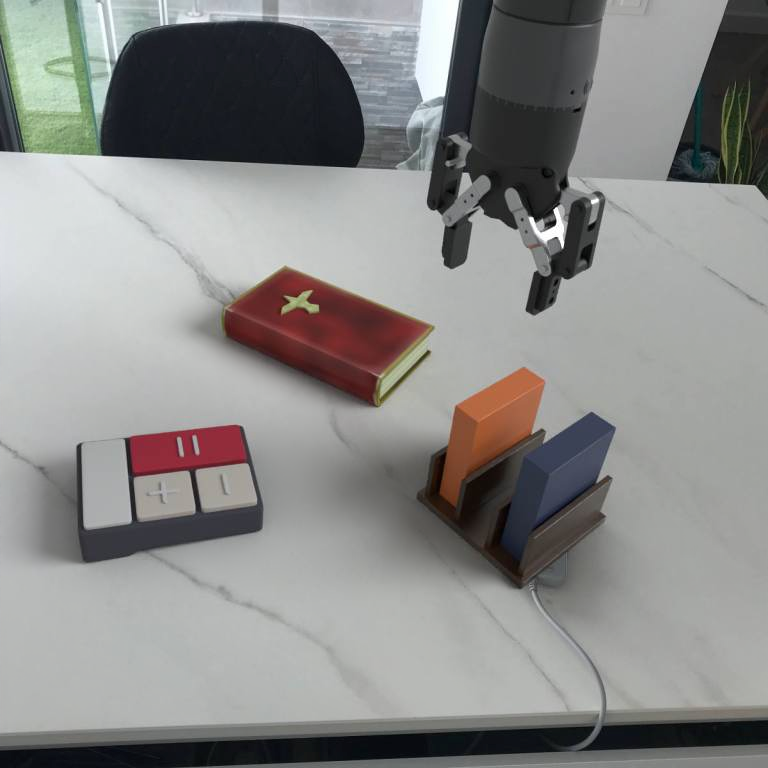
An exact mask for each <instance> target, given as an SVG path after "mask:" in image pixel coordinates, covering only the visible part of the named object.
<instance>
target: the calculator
mask: <svg viewBox="0 0 768 768" xmlns="http://www.w3.org/2000/svg"><path fill="white" fill-rule="evenodd" d="M75 453H76V455H75V456H76V457H75V458H76V459H75V460H76V500H77V501H76V504H77V505H76V506H77V507H76V509H77V535H78V540H79V546H80V552H81V557H82V560H83V562H85V563H93V562H99V561H105V560H111V559H118V558H124V557H125V558H126V557H130V556H132V555H134V554H135V553H137V552H139V551H141V550H145V549H154V548H159V547H165V546H171V545H178V544H185V543H192V542H197V541H204V540H211V539H216V538H224V537H230V536H237V535H243V534H248V533H255V532H260V531H262V529H263V526H264V503H263V502H264V501H263V497H262V494H261V490H260V486H259V482H258V479H257V476H256V472H255V471H256V470H255V467H254V463H253V460H252V455H251V452H250V447H249V444H248V439H247V435H246V432H245V429H244V426H242V425H240V424H239V425H238V424H227V425H217V426H211V427H210V426H209V427H202V428H201V427H200V428H191V429H182V430H175V431H174V430H172V431H164V432H163V431H162V432H156V433H145V434H136V435H132V436H131V435H130V437H129V436H128V437H121V438H120V437H119V438H112V439H103V440H93V441H84V442H79V443H77V445H76V450H75Z"/></svg>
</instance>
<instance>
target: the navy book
mask: <svg viewBox="0 0 768 768" xmlns="http://www.w3.org/2000/svg"><path fill="white" fill-rule="evenodd" d="M616 430H617V426H614V425H613V424H611V423H610V422H608V421H607V420H605V419H604V418H602V417H601V416H600V415H598V414H597V413H595V412H593V411H590V412H589V413H587V414H586V415H584V416H583V417H581V418H580V419H578V420H576V421H575V422H574V423H572V424H570V425H569V426H567V427H566V428H564V429H563V430H561V431H560V432H558V433H557V434H555V435H554V436H552V437H551V438H550V439H548V440H547V441H545V442H543V444H542V445H541V446H539V447H538V448H536V449H535V450H533V451H532V452H530V453H529V454H527V455H526V456H524V458H523V462H522V465H521V469H520V473H519V477H518V480H517V484H516V488H515V491H514V495H513V499H512V502H511V506H510V510H509V513H508V517H507V521H506V524H505V528H504V532H503V535H502V539H501V543H500V545H501V546H502V547H503V548H504V549H505V550H507V551H508V552H509V553H510V554H511V555H512V556H514V557H515V558H516V559H517V560H518V561H520V562H521V559H522V556H523V552H524V549H525V546H526V542H527V539H528V536H529V534H530V533H532V532H533V531H534V530H536V529H537V528H538V527H540V526H541V525H542V524H544V523H545V522H546V521H547V520H549V519H550V518H551V517H553V516H554V515H555V514H557V513H558V512H559V511H561V510H562V509H563V508H565V507H566V506H567V505H569V504H570V503H571V502H573V501H574V500H575V499H577V498H578V497H579V496H581V495H582V494H583V493H584V492H586V491H587V490H588V489H590V488H591V487H592V486H594V485H595V484H596V483H598V479H599V476H600V475H601V471H602V469H603V466H604V463H605V460H606V457H607V455H608V452H609V449H610V446H611V444H612V441H613V438H614V436H615V433H616Z"/></svg>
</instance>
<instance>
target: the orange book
mask: <svg viewBox="0 0 768 768" xmlns="http://www.w3.org/2000/svg"><path fill="white" fill-rule="evenodd" d="M546 382H547V381H546V380H545V379H543V378H542V377H541V376H539V375H537V374H536V373H534V372H533V371H531V370H530V369H529V368H527V367H525V366H522V367H520V368H518V369H517V370H515V371H513V372H512V373H510V374H509V375H507V376H505V377H503V378H501V379H500V380H498V381H496V382H494V383H492V384H491V385H489V386H487V387H486V388H484V389H482V390H480V391H478V392H477V393H475V394H473V395H471V396H470V397H468V398H466V399H464V400H462V401H461V402H459V403H457V404H455V406H454V411H453V417H452V422H451V426H450V427H451V428H450V432H449V437H448V444H447V445H448V449H447V454H446V460H445V465H444V471H443V476H442V482H441V487H440V493H439V494H440V495H441V496H443V497H444V498H445V499H446V500H447V501H449V502H450V503H451V504H452V505H453V506H454V507H456V506H457V501H458V496H459V491H460V486H461V481H462V479H464V478H466V477H467V476H469V475H470V474H472V473H473V472H475V471H476V470H478V469H479V468H481V467H483V466H484V465H486V464H487V463H489V462H490V461H492V460H493V459H495V458H496V457H498V456H500V455H501V454H503V453H504V452H506V451H507V450H509V449H510V448H512V447H513V446H515V445H516V444H518V443H520V442H521V441H523V440H524V439H526V438H527V437H529V436H530V435H532V434H533V430H534V425H535V422H536V418H537V415H538V414H537V413H538V411H539V407H540V404H541V400H542V397H543V393H544V389H545V386H546Z"/></svg>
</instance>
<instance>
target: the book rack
mask: <svg viewBox="0 0 768 768" xmlns="http://www.w3.org/2000/svg"><path fill="white" fill-rule="evenodd" d="M546 435H547V430H546V429H544V428H543V427H541V428H540V429H538V430H536V431H535V432H534V433H533V432H532V433H531V435H530V436H529V437H527V438H526V439H524V440H523V441H521V442H520V443H518V444H516V445H515V446H513V447H512V448H510V449H509V450H507V451H506V452H504V453H503V454H501V455H500V456H498V457H496V458H495V459H493V460H492V461H490V462H489V463H487V464H486V465H484V466H483V467H481V468H479V469H478V470H476V471H475V472H473V473H472V474H470V475H469V476H467V477H466V478H464V479H462V481H461V486H460V491H459V496H458V501H457V506H456V507H454V506H453V505H452V504H451V503H450V502H449V501H447V500H446V499H445V498H444V497H443V496H441V495H440V494H439V493H440V487H441V482H442V476H443V471H444V465H445V460H446V454H447V449H448V444H447V445H446V446H444V447H442V448H440V449H438V450H437V451H435V452H433V453H432V454H431V455H430V459H429V465H428V472H427V478H426V485H425V487H423V488H422V489H421V490H419V491H417V493H416V499H417V500H418V501H420V503H422V504H423V506H424V507H426V508H427V509H428V510H429V511H431V512H432V513H433V514H434V515H435V516H437V517H438V518H439V519H440V520H441V521H442V522H443V523H445V524H446V526H448V527H449V528H451V530H453V531H454V532H455V533H456V534H457V536H459V537H460V538H462V539H463V540H464V541H465V542H466V543H468V544H469V545H470V546H471V548H473V549H474V550H476V551H477V552H478V553H479V554H480V555H482V556H483V558H485V559H486V560H487V561H488V562H489V563H491V564H492V565H493V566H494V567H495V568H496V569H498V570H499V572H501V573H502V574H503V575H504V576H505V577H507V578H508V580H510V581H511V582H512V583H513V584H515V586H517V587H518V588H519V589H521V590H522V589H524V587H526V586H527V585H528V584H530V583H531V582H532V581H533V580H534V579H536V578H537V577H538V576H540V575H541V574H542V573H543V572H544V571H546V570H547V569H548V568H549V567H551V566H552V565H553V564H554V563H556V562H557V561H558V560H559V559H561V558H562V557H563V556H564V555H565V554H566V553H568V552H569V551H570V550H572V549H573V548H574V547H575V546H577V545H578V544H579V543H580V542H581V541H582V540H584V539H585V538H586V537H588V536H589V535H590V534H591V533H592V532H594V531H595V530H596V529H598V528H599V527H600V526H602V524H604V523H605V521H606V519H607V515H606V514H604V513H603V512H601V511H602V508H603V506H604V503H605V500H606V498H607V495H608V493H609V491H610V487H611V485H612V483H613V480H614V478H613V477H612V476H610V475H609V474H607V475H606V476H604V477H603V478H601V479H600V480H599V481H597V482H596V484H595V485H594V486H592V487H591V488H590V489H588V490H587V491H586V492H584V493H583V494H582V495H581V496H579V497H578V498H577V499H575V500H574V501H573V502H571V503H570V504H569V505H567V506H566V507H565V508H563V509H562V510H561V511H559V512H558V513H557V514H555V515H554V516H553V517H551V518H550V519H549V520H547V521H546V522H545V523H544V524H542V525H541V526H540V527H538V528H537V529H536V530H534V531H533V532H532V533H530V534H529V536H528V539H527V542H526V546H525V549H524V552H523V556H522V559H521V562H520V561H518V560H517V559H516V558H515V557H514V556H512V555H511V554H510V553H509V552H508V551H507V550H505V549H504V548H503V547H502V546H501V545H500V543H501V539H502V535H503V532H504V528H505V524H506V521H507V517H508V513H509V510H510V506H511V502H512V499H513V495H514V491H515V488H516V484H517V480H518V477H519V473H520V469H521V465H522V462H523V458H524V456H526V455H527V454H529V453H530V452H532V451H533V450H535V449H536V448H538V447H539V446H541V445H542V444H544V443H545V442H544V441H545V437H546Z"/></svg>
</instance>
